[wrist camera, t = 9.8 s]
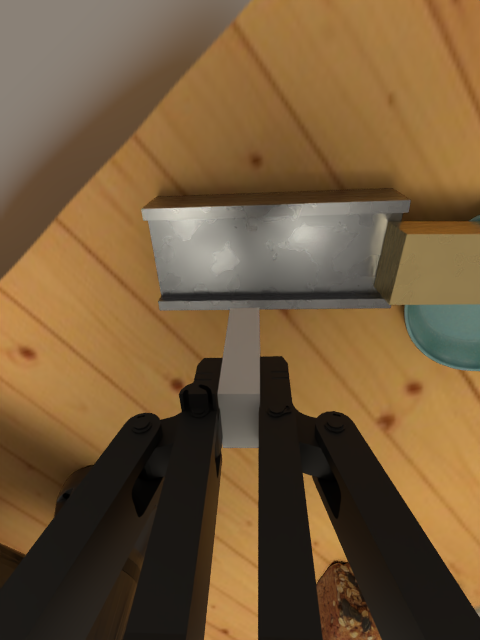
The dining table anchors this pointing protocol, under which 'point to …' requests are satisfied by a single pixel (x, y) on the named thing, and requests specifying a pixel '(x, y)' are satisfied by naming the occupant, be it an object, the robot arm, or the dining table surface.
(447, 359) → the saucer
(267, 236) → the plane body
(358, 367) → the dining table surface
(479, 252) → the tan rectangular block
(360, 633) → the bread
